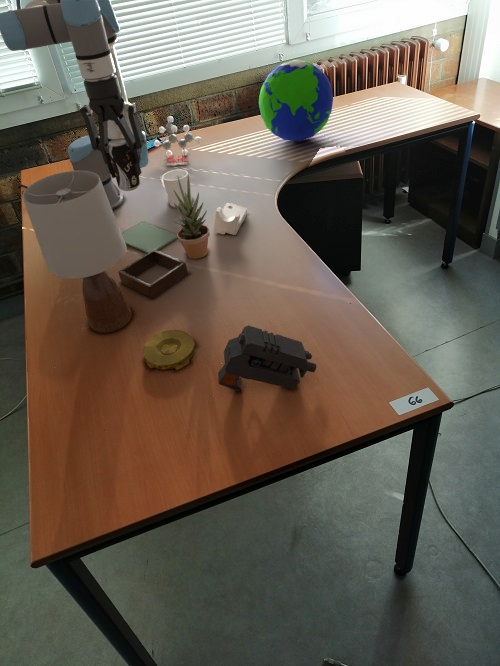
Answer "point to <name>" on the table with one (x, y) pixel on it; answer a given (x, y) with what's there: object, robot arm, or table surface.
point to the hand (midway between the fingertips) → (126, 175)
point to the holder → (160, 284)
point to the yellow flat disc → (169, 350)
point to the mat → (147, 237)
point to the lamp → (81, 241)
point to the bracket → (229, 218)
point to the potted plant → (192, 225)
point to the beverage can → (122, 164)
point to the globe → (296, 100)
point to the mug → (174, 185)
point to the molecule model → (173, 139)
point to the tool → (264, 359)
